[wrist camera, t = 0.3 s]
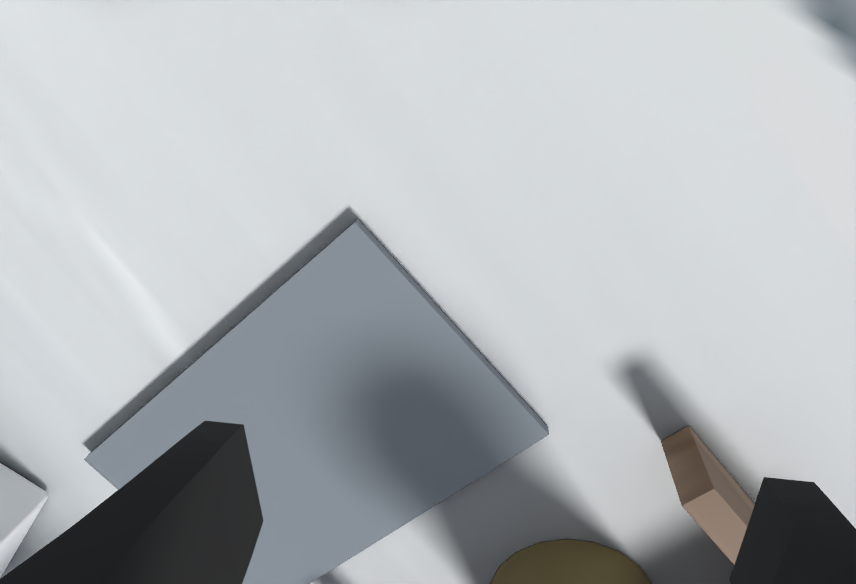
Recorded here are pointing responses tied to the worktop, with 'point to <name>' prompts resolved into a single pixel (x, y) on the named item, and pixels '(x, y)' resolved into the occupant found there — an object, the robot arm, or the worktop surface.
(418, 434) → the slate mat
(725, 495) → the walnut bay
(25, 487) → the milk carton
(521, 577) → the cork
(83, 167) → the worktop surface
